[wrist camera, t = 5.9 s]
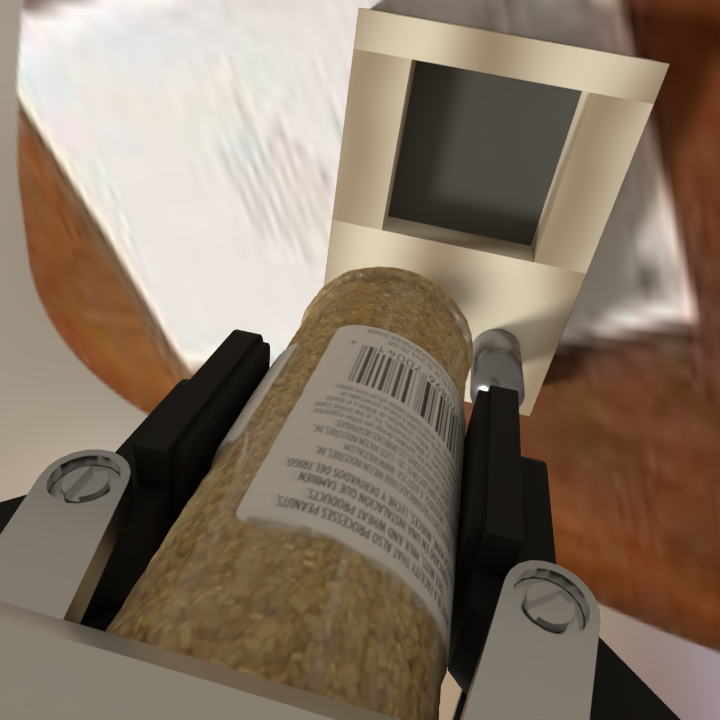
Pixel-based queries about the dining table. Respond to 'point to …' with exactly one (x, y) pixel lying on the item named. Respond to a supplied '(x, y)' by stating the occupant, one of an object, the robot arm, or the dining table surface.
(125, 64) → the dining table surface
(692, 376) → the dining table surface
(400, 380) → the sprinkles bottle
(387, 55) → the cream square frame
